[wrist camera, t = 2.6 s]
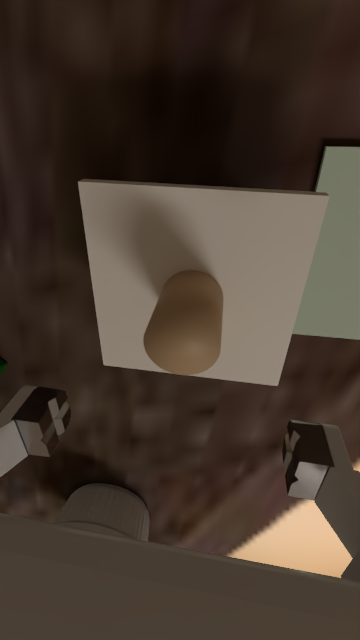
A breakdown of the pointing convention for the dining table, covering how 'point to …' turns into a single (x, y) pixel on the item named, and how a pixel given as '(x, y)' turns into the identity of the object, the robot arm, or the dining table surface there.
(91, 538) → the robot arm
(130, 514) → the ramekin
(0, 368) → the milk carton
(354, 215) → the mat
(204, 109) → the dining table surface
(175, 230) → the cover
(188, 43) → the dining table surface
